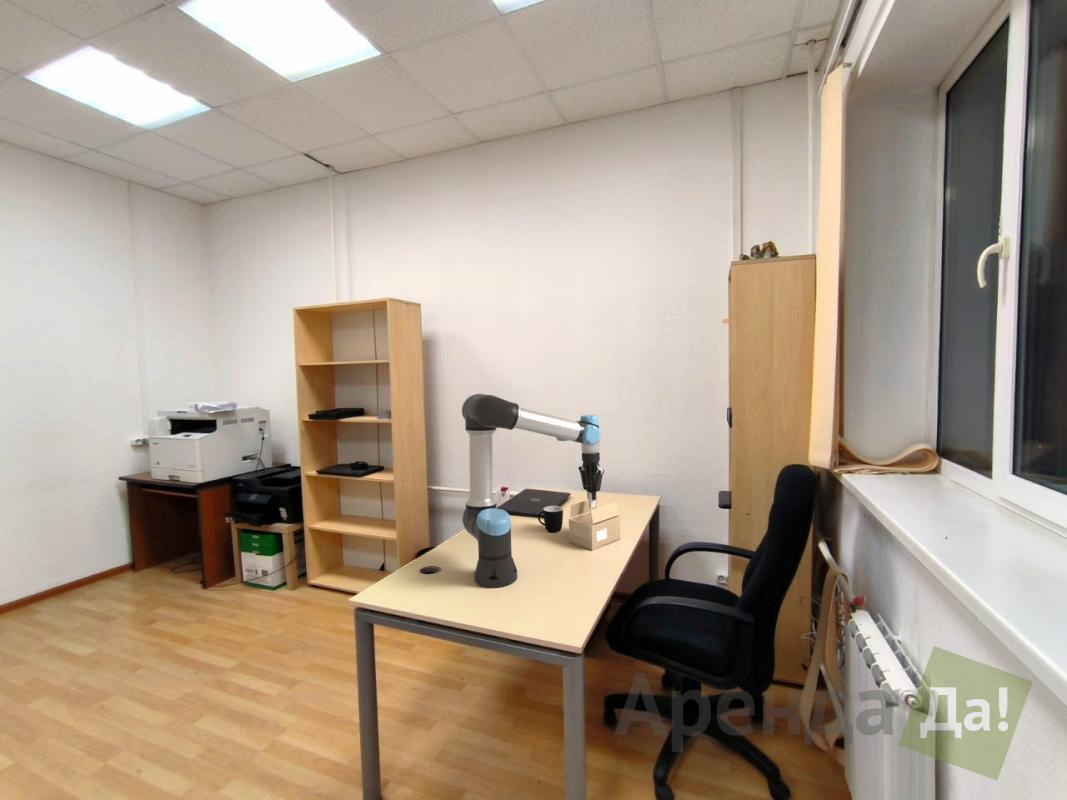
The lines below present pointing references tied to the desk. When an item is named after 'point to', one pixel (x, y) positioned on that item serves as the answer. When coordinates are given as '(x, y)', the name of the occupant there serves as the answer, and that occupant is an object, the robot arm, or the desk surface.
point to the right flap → (604, 512)
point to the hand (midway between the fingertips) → (592, 507)
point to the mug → (552, 518)
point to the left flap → (581, 508)
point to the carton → (593, 531)
